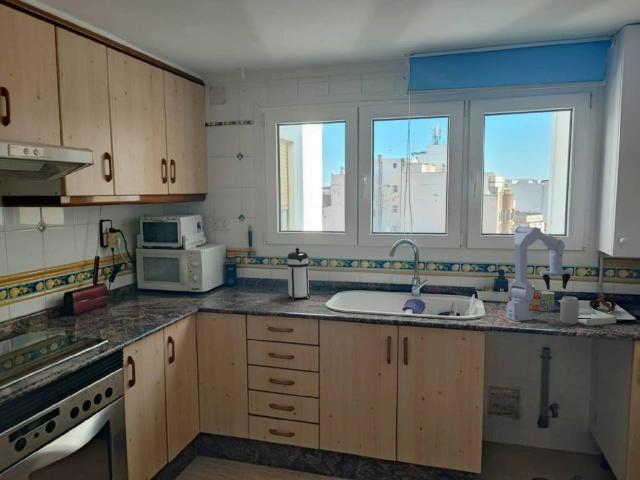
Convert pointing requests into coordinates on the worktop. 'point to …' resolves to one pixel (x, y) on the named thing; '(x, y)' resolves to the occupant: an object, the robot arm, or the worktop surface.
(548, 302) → the stack of blocks
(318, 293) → the worktop surface
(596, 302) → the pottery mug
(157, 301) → the worktop surface
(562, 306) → the can
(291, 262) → the coffee press
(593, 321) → the tray
